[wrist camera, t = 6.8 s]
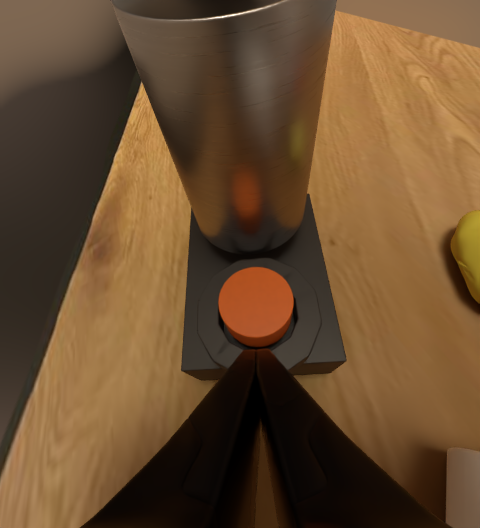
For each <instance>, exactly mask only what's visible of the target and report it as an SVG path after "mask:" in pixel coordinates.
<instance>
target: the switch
mask: <svg viewBox="0 0 480 528" xmlns="http://www.w3.org/2000/svg"><path fill="white" fill-rule="evenodd" d="M293 305H294V299H293V293H292V290H291V288H290V286H289V284H288V283H287V281H286V280H285V279H284V278H283V277H282V276H281V275H279V274H278V273H276V272H275V271H273V270H270V269H267V268H263V267H250V268H246V269H243V270H240V271H238V272H236V273H235V274H233V275H232V276H231V277H230V278H229V279H228V280H227V281H226V282H225V283H224V285H223V287H222V289H221V291H220V294H219V300H218V306H219V312H220V315H221V317H222V319H223V321H224V323H225V325H226V327H227V329H228V330H229V332H230V334H231V335H232V336H233V337H234V338H235V339H236V340H237V341H239V342H240V343H242V344H244V345H246V346H250V347H265V346H269V345H271V344H274V343H275V342H277V341H278V340H280V339H281V338H282V337H283V336H284V334H285V333H286V332H287V330H288V328H289V325H290V322H291V317H292V311H293Z"/></svg>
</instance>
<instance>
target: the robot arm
mask: <svg viewBox="0 0 480 528" xmlns="http://www.w3.org/2000/svg"><path fill="white" fill-rule="evenodd" d="M261 425H262V432H263V438H264V444H265V450H266V455H267V461H268V467H269V473H270V478H271V484H272V490H273V496H274V501H275V507H276V513H277V519H278V524H279V528H453V527H451V526H450V525H448V524H447V523H445V522H443V521H442V520H440V519H439V518H438V517H436V516H435V515H434V514H432V513H431V512H430V511H428V510H427V509H426V508H425V507H424V506H423V505H421V504H420V503H419V502H418V501H417V500H416V499H415V498H413V497H412V496H411V495H410V494H409V493H408V492H407V491H406V490H405V489H404V488H402V487H401V486H400V485H399V484H398V483H397V482H396V481H395V480H394V479H393V478H391V477H390V476H389V475H388V474H387V473H386V472H385V471H384V470H383V469H381V468H380V467H379V466H378V465H377V464H376V463H375V462H374V461H373V460H372V459H370V458H369V457H368V456H367V455H366V454H365V453H364V452H363V451H362V450H361V449H360V448H359V447H358V446H357V445H356V444H355V443H353V442H352V441H351V440H350V439H349V438H348V437H347V436H346V435H345V434H344V433H343V431H342V430H341V429H340V428H339V427H338V426H337V425H336V424H335V423H334V422H333V421H332V420H331V418H330V417H329V416H328V415H327V414H326V413H324V411H323V409H322V408H321V407H320V406H319V405H318V404H317V403H316V402H315V400H314V399H313V398H312V397H311V396H310V395H309V394H308V392H307V391H306V390H305V389H304V388H303V387H302V386H301V385H300V383H299V382H298V381H297V380H296V379H295V378H294V377H293V375H292V374H291V373H290V372H289V371H288V370H287V369H286V368H285V366H284V365H283V364H282V363H281V362H280V361H279V360H278V358H277V357H276V356H275V355H274V354H273V353H272V352H271V351H270V349H258V350H257V351H255V350H243V351H242V352H241V354H240V355H239V356H238V357H237V358H236V360H235V361H234V362H233V363H232V365H231V366H230V367H229V368H228V369H227V371H226V372H225V373H224V374H223V376H222V377H221V378H220V379H219V380H218V382H217V383H216V384H215V385H214V387H213V388H212V389H211V390H210V391H209V393H208V394H207V395H206V396H205V398H204V399H203V400H202V401H201V403H200V404H199V405H198V406H197V407H196V409H195V410H194V411H193V412H192V414H191V415H190V416H189V418H188V419H187V420H186V421H185V422H184V423H183V424H182V426H181V427H180V428H179V429H178V430H177V432H176V433H175V434H174V435H173V436H172V437H171V439H170V440H169V441H168V442H167V443H166V444H165V445H164V446H163V447H162V448H161V450H160V451H159V452H158V453H157V454H156V455H155V456H154V457H153V458H152V459H151V460H150V461H149V462H148V463H147V464H146V465H145V466H144V467H143V468H142V469H141V470H140V471H139V472H138V473H137V474H136V475H135V476H134V477H133V478H132V479H131V480H130V481H129V482H128V483H127V484H126V485H125V486H124V487H123V488H122V489H121V490H120V491H119V492H118V493H117V494H116V495H115V496H114V497H113V498H112V499H111V500H110V501H109V502H108V503H107V504H106V505H105V506H104V507H103V508H102V509H101V510H100V511H99V512H98V513H97V514H96V515H95V516H94V517H93V518H91V519H90V520H89V521H88V522H86V523H85V524H84V525H83V526H81V527H80V528H254V522H255V507H256V493H257V478H258V464H259V449H260V435H261Z"/></svg>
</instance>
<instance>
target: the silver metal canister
mask: <svg viewBox="0 0 480 528" xmlns="http://www.w3.org/2000/svg"><path fill="white" fill-rule="evenodd" d="M110 1H111V4H112V6H113V9H114V11H115V14H116V17H117V19H118V22H119V24H120V27H121V29H122V32H123V34H124V37H125V39H126V42H127V45H128V47H129V50H130V52H131V55H132V57H133V60H134V62H135V65H136V67H137V70H138V73H139V75H140V78H141V80H142V83H143V85H144V88H145V90H146V93H147V95H148V98H149V101H150V103H151V106H152V108H153V111H154V113H155V116H156V118H157V121H158V123H159V126H160V129H161V131H162V134H163V136H164V139H165V141H166V144H167V146H168V149H169V151H170V154H171V156H172V159H173V162H174V164H175V167H176V169H177V172H178V174H179V177H180V179H181V182H182V184H183V187H184V190H185V192H186V195H187V197H188V200H189V202H190V205H191V207H192V210H193V212H194V215H195V218H196V220H197V223H198V225H199V228H200V230H201V232H202V233H203V235H204V236H205V237H206V239H207V240H209V241H210V242H211V243H212V244H214V245H215V246H217V247H218V248H221V249H223V250H225V251H228V252H232V253H237V254H257V253H262V252H266V251H269V250H272V249H274V248H276V247H278V246H280V245H282V244H283V243H285V242H286V241H288V240H289V239H290V238H291V237H292V236H293V235H294V234H295V232H296V231H297V230H298V228H299V226H300V225H301V222H302V220H303V216H304V210H305V203H306V197H307V190H308V184H309V177H310V171H311V164H312V158H313V151H314V145H315V138H316V132H317V125H318V119H319V112H320V106H321V99H322V93H323V86H324V80H325V73H326V67H327V60H328V54H329V47H330V41H331V34H332V28H333V21H334V15H335V8H336V1H337V0H110Z"/></svg>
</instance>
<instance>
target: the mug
mask: <svg viewBox="0 0 480 528" xmlns="http://www.w3.org/2000/svg"><path fill="white" fill-rule="evenodd" d="M446 523H447V524H448V525H450V526H451V527H453V528H480V452H479V451H475V450H471V449H465V448H459V447H451V448H449V449H448V450H447V480H446Z"/></svg>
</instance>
